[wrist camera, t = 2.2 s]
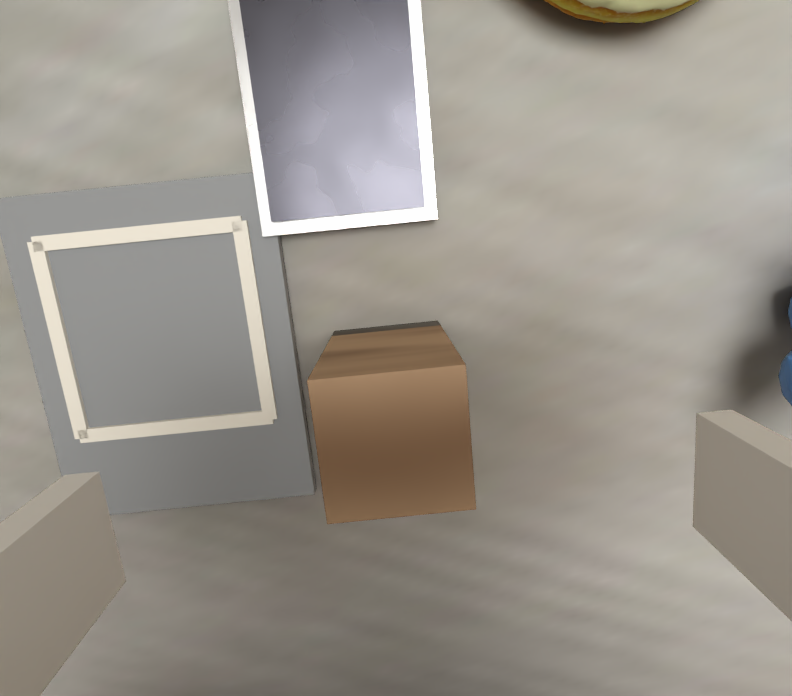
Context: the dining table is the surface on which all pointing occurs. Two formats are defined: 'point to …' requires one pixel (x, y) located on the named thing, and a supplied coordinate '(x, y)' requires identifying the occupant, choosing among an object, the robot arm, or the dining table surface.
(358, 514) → the brown wooden block
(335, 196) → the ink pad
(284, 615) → the dining table surface
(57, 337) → the board
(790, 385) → the grapes
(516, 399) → the dining table surface
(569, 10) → the decorated donut
